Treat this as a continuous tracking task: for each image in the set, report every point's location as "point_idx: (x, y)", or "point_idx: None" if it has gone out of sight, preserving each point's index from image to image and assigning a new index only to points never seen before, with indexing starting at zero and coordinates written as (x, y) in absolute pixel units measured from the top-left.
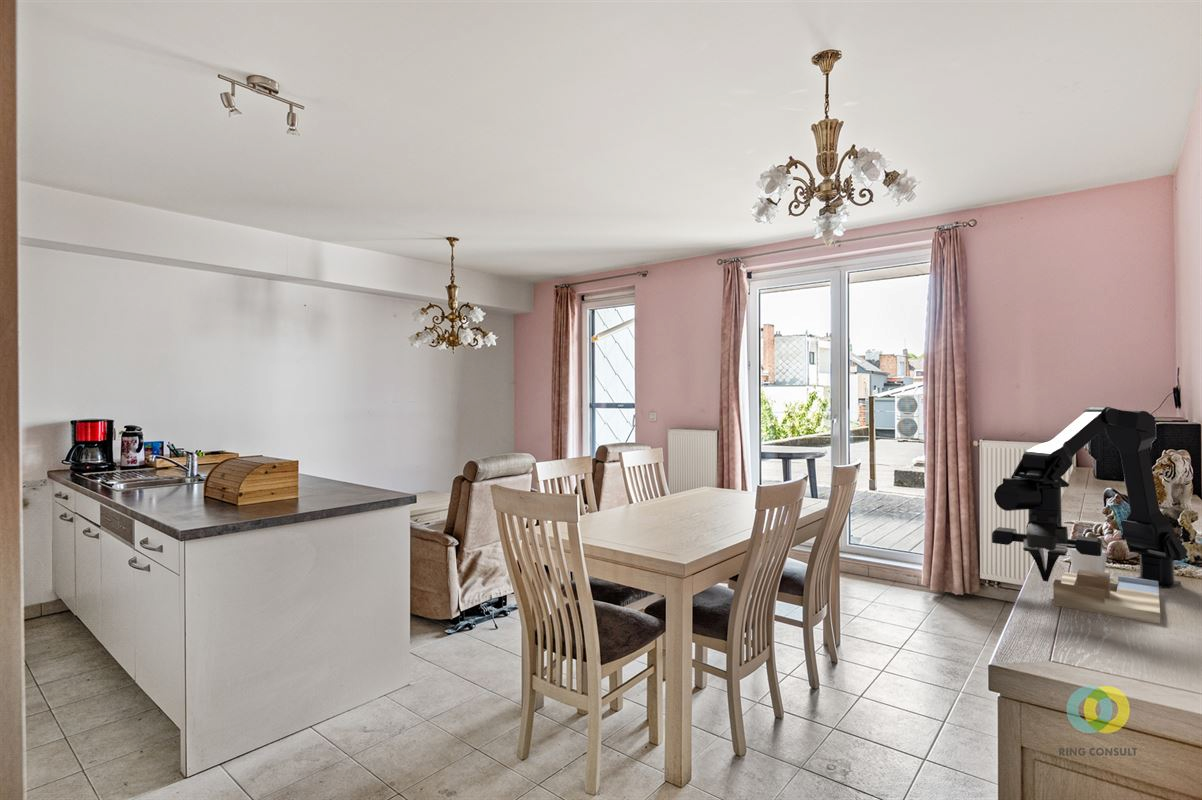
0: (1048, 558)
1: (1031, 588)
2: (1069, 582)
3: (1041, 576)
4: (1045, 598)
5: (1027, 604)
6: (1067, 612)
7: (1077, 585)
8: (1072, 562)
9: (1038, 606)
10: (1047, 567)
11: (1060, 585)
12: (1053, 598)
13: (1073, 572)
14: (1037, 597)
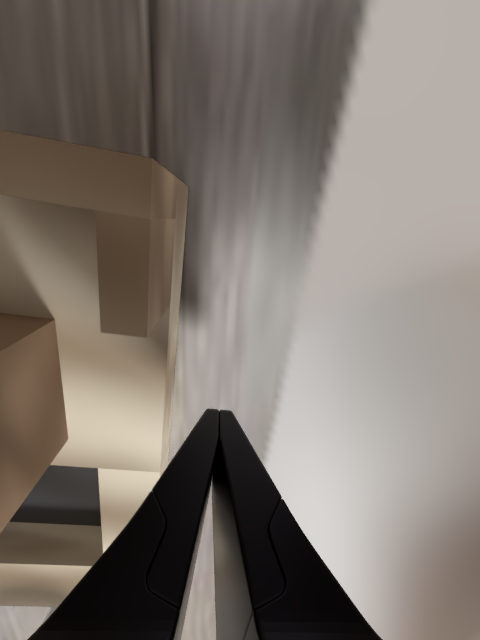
0: (162, 630)
1: (269, 434)
2: (119, 499)
3: (241, 428)
4: (223, 310)
5: (324, 117)
6: (109, 42)
7: (12, 344)
8: None
9: (268, 103)
10: (196, 489)
11: (89, 147)
12: (181, 182)
13: None
14: (257, 308)
